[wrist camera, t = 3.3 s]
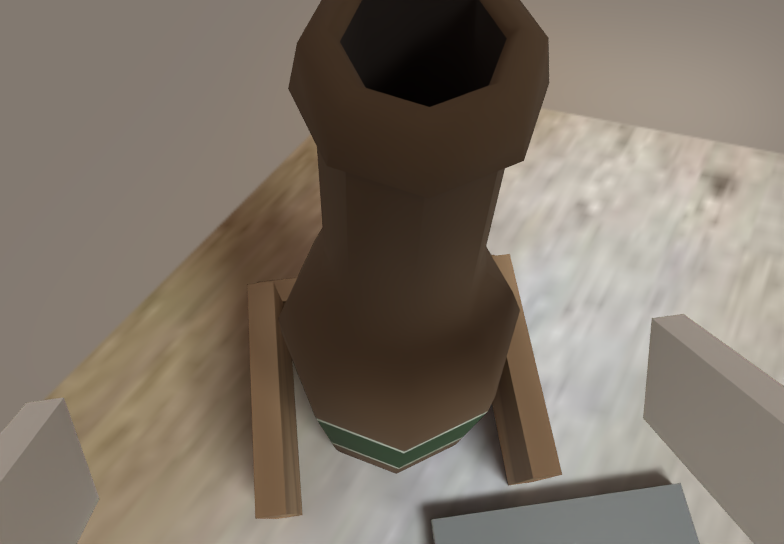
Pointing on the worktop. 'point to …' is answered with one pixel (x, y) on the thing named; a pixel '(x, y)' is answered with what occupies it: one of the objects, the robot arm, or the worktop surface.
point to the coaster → (579, 521)
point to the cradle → (278, 415)
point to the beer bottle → (409, 216)
